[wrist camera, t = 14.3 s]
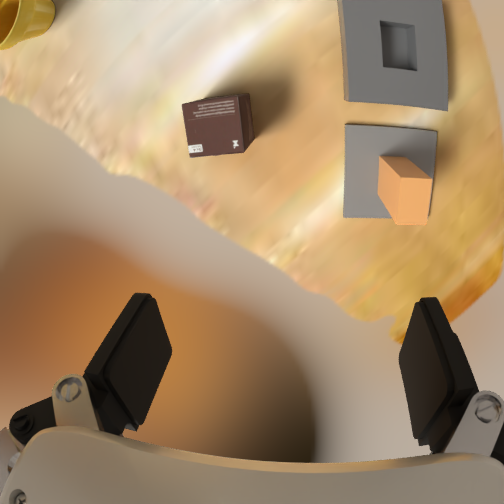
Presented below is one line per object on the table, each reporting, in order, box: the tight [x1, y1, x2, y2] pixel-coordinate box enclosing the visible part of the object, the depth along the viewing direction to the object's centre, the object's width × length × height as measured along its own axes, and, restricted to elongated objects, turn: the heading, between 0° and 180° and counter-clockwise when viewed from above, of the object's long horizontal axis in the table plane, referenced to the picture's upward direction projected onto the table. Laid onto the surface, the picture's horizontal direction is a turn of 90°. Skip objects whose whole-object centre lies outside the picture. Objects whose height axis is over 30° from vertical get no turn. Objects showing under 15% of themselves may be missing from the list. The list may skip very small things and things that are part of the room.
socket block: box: [337, 0, 448, 111], centre depth 27 cm, size 14×12×4 cm
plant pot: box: [0, 0, 55, 50], centre depth 25 cm, size 10×10×10 cm
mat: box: [343, 124, 437, 219], centre depth 36 cm, size 12×12×1 cm
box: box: [182, 94, 254, 158], centre depth 33 cm, size 6×6×7 cm
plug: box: [377, 156, 432, 225], centre depth 32 cm, size 5×4×9 cm
